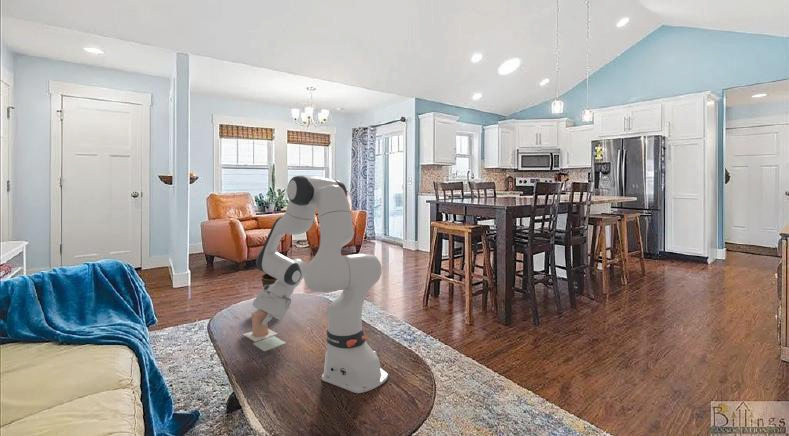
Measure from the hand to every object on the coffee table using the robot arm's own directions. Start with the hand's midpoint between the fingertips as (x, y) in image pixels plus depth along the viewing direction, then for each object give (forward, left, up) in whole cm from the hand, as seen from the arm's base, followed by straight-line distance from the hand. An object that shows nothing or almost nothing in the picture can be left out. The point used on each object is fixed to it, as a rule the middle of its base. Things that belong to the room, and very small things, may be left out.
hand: (258, 322), depth 156 cm
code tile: (0, -1, -5) cm, 5 cm away
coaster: (-11, +1, -5) cm, 12 cm away
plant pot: (+24, -23, -6) cm, 34 cm away
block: (0, -1, -5) cm, 5 cm away
